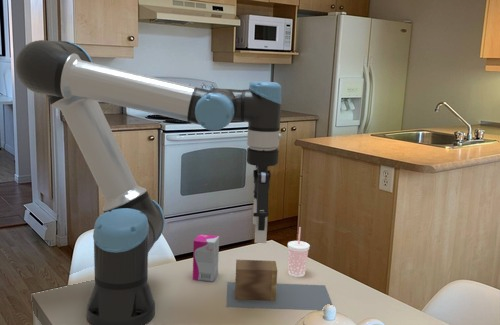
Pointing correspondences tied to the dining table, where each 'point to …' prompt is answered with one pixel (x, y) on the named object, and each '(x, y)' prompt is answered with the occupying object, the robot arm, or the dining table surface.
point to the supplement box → (205, 258)
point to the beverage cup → (297, 257)
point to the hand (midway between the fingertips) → (259, 232)
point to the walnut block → (255, 280)
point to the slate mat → (285, 298)
